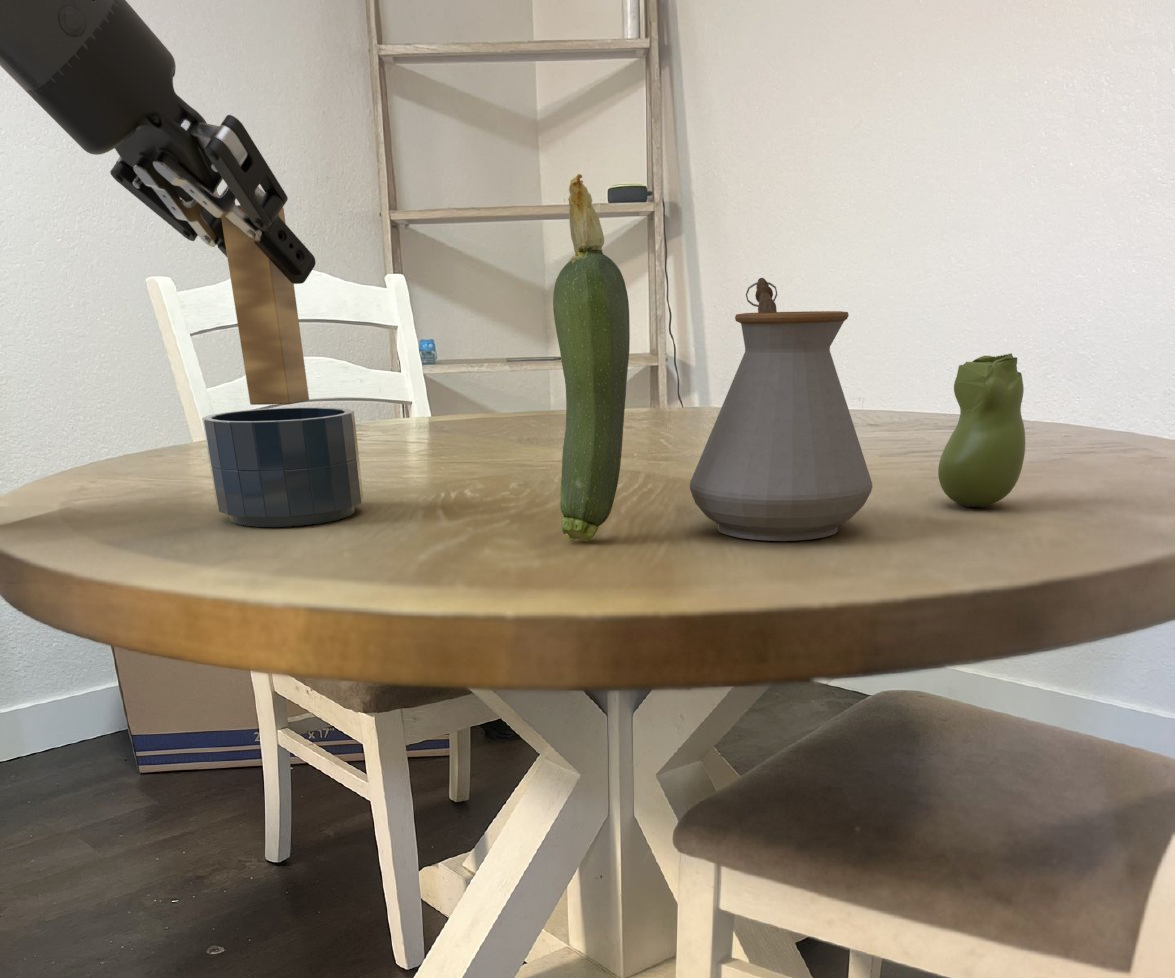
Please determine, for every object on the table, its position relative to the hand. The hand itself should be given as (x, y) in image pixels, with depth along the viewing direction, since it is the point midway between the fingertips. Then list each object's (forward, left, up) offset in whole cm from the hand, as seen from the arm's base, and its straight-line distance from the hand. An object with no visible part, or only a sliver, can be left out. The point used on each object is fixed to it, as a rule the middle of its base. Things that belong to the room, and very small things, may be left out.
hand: (286, 274), depth 71 cm
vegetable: (+23, -8, -16) cm, 29 cm away
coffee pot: (+33, +2, -16) cm, 37 cm away
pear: (+47, +7, -16) cm, 50 cm away
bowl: (-1, -2, -16) cm, 16 cm away
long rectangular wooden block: (-1, -2, -8) cm, 8 cm away
